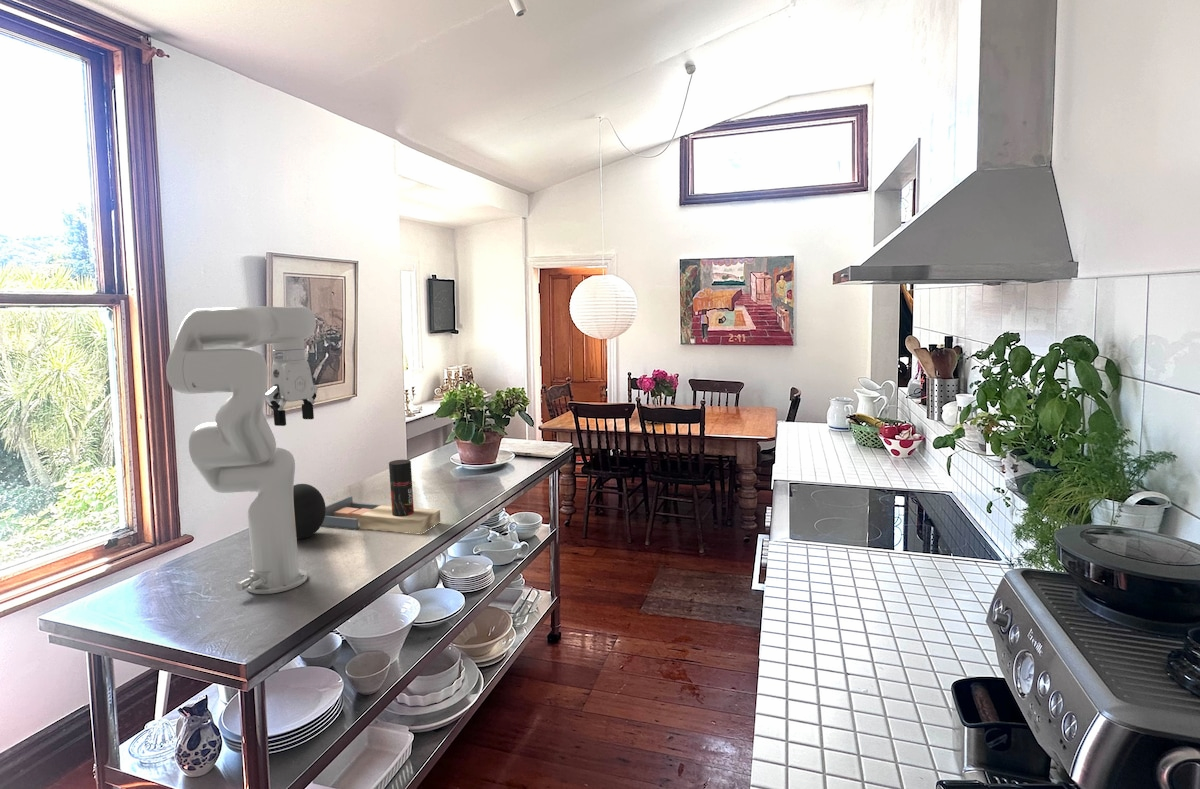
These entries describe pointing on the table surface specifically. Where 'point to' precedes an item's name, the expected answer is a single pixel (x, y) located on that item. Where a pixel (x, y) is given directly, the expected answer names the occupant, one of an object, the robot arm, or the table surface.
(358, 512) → the tile
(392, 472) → the deodorant
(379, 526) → the board
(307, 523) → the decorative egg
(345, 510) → the tile
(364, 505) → the tray
